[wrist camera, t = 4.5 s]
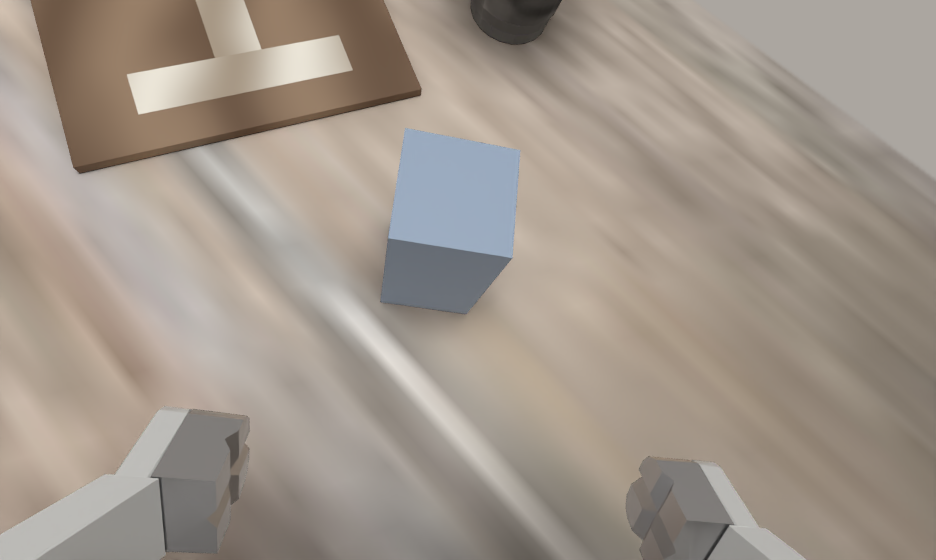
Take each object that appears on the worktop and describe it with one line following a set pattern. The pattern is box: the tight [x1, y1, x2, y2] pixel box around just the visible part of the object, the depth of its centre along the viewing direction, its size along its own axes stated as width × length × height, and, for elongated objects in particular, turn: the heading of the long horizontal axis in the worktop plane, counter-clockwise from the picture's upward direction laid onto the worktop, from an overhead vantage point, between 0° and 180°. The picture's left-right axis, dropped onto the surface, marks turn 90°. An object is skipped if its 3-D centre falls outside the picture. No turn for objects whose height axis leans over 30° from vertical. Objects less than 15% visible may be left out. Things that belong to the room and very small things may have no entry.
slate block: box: [380, 128, 520, 314], centre depth 21 cm, size 4×4×8 cm
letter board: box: [31, 0, 421, 173], centre depth 26 cm, size 16×14×1 cm
